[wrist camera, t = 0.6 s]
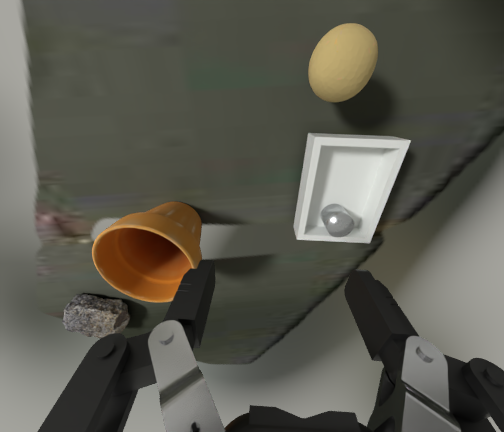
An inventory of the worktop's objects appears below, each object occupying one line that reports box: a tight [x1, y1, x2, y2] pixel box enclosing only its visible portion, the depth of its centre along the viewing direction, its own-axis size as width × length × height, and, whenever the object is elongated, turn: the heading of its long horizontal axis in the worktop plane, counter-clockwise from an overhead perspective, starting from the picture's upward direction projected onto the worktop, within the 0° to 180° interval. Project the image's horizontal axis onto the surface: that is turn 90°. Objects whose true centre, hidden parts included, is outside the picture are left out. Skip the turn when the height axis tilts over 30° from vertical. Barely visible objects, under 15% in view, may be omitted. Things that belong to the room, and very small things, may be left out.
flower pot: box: [92, 202, 202, 302], centre depth 33 cm, size 14×14×13 cm
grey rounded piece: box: [320, 204, 354, 237], centre depth 32 cm, size 4×4×4 cm
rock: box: [62, 294, 130, 338], centre depth 50 cm, size 13×6×15 cm
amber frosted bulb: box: [309, 23, 378, 102], centre depth 22 cm, size 6×6×10 cm
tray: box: [294, 133, 411, 243], centre depth 31 cm, size 16×12×6 cm
